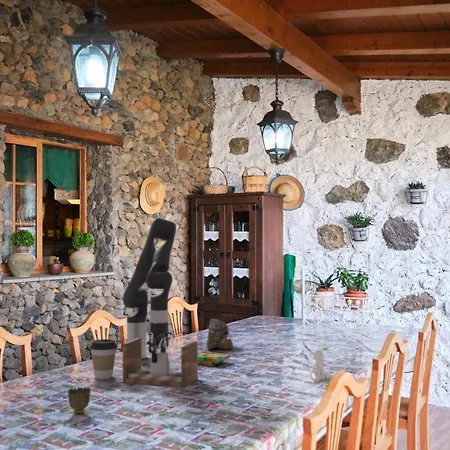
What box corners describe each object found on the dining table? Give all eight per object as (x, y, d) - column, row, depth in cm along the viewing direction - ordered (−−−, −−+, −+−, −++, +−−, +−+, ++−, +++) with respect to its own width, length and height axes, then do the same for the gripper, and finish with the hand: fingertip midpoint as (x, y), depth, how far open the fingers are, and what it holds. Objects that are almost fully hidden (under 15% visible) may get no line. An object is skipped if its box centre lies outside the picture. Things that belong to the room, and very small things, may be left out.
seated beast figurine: (315, 382, 245) (315, 353, 245) (302, 378, 253) (302, 349, 253) (334, 380, 249) (333, 350, 249) (321, 375, 257) (321, 347, 257)
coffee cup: (122, 375, 258) (122, 339, 258) (108, 381, 247) (108, 344, 247) (98, 373, 262) (98, 338, 262) (84, 379, 251) (84, 342, 251)
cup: (69, 410, 208) (69, 386, 208) (91, 409, 209) (91, 386, 209) (66, 416, 201) (66, 392, 201) (88, 416, 201) (88, 392, 201)
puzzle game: (195, 348, 293) (230, 353, 282) (195, 358, 293) (230, 363, 282) (180, 352, 283) (216, 357, 272) (180, 363, 283) (217, 368, 272)
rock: (201, 314, 320) (229, 310, 317) (210, 331, 329) (237, 327, 326) (198, 342, 307) (227, 338, 303) (207, 359, 316) (235, 355, 312)
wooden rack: (122, 382, 246) (122, 343, 246) (138, 374, 260) (138, 337, 260) (184, 387, 238) (184, 347, 238) (197, 378, 251) (197, 341, 251)
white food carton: (165, 378, 245) (165, 354, 245) (150, 377, 247) (150, 353, 247) (169, 376, 249) (169, 352, 249) (153, 375, 251) (153, 351, 251)
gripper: (157, 317, 256) (157, 356, 256) (143, 322, 242) (142, 363, 242) (174, 318, 254) (174, 357, 254) (160, 323, 240) (160, 365, 240)
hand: (158, 360), depth 248 cm, fingers open, 8 cm apart
